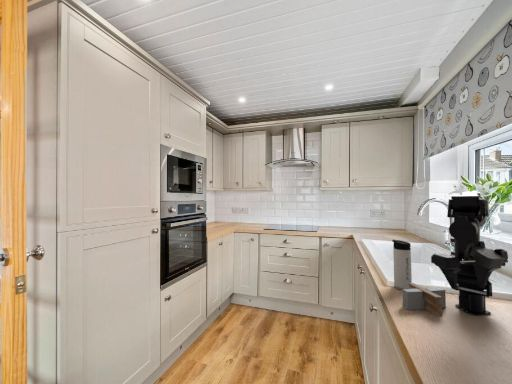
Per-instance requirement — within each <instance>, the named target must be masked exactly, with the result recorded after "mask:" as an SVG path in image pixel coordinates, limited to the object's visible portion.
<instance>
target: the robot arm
mask: <svg viewBox="0 0 512 384" xmlns="http://www.w3.org/2000/svg"><path fill="white" fill-rule="evenodd" d="M488 202H489V201H488V200H486V199H485V198H484V197H482V195H481V192H479V191H463V192H460V194H453V195H451V198H449V199H448V203H447V204H448V205H447V215H446V217H447V218H453V222H452V223H450V224H449V227H448V232H449V235H450V236H451V237H452V238H451V237H450V243H451V242H452V243H453V245H454V247H453V248H454V250H451V251H450V254H446V253H433V254H432V255H431V257H430V261H431V263H432V264H434V265H435V266H436V267H438V268H439V270H440V271H441V273H442V274H443V276H444V278H445V279H446V281H447V283H448V284H449V286H450V288H451V289H452V290H454V291H458V293H459V294H458V303H457V304H455V307H456V308H458V309H460V310H462V311H464V312H466V313H468V314H469V315H472V316H484V315H491V314H492V312H491V311H488V310H487V308H486V298H490V297H491V298H492V297H493V283H492V282H491V281H490V279H489V278H490V276H491V275H492V273H493V272H495V271H496V270H500V269H502V267H506V263H507V264H508V263H509V254H508V251H507V250H505V249H503V248H496V249H491V248H487V247H486V244H485V242H484V240H483V241H482V240H481V228H482V227H483V226H484V225H485V224H486V223H487V217H489V203H488Z"/></svg>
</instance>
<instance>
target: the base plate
mask: <svg viewBox="0 0 512 384" xmlns="http://www.w3.org/2000/svg"><path fill="white" fill-rule="evenodd" d="M424 288H425V289H427V290H429V291H431V292H433V293H435V294H437V295H439V296H441V297H442V309H443V308H444V309H445V308H447V304H446V300H447V299H446V298H447V297H446V290H445V289H444V288H441V287H439V286H438V287H424ZM402 307H403V308H405V309H406V310H408V311H409V310H421V309H423V310H424V309H425V310H426V301H425V300H424V299H423V292H422V291H421V290H419V289H403V291H402Z"/></svg>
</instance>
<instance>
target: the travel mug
mask: <svg viewBox="0 0 512 384" xmlns="http://www.w3.org/2000/svg"><path fill="white" fill-rule="evenodd" d="M391 242H392V243H393V250H392V252H393V286H394V288H395V289H396V290H398V291H402V292H403V289H409V283H413V282H412V278H413V277H412V275H413V274H412V249H411V246H412V245H411V243H410V242H408V241H404V240H400V239H398V240H397V239H392V240H391Z"/></svg>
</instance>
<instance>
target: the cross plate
mask: <svg viewBox="0 0 512 384" xmlns="http://www.w3.org/2000/svg"><path fill="white" fill-rule="evenodd" d="M425 288H426V287H423V286H420V285H418V284H416V283H414V282H412V283H409V289H419V290H421V291H422V292H423V299H424V300H425V301H426V309H425V310H426V311H428V312H429V313H431V314H433V315H434V316H436V317H438V316H439V317H440V316H443V308H442V297H441V296H439V295H437V294H435V293H433V292H431V291H429V290H427V289H425Z"/></svg>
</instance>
